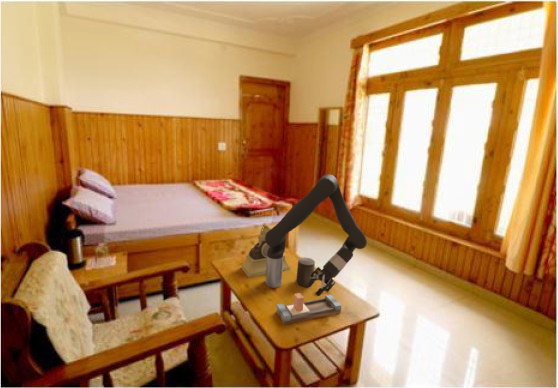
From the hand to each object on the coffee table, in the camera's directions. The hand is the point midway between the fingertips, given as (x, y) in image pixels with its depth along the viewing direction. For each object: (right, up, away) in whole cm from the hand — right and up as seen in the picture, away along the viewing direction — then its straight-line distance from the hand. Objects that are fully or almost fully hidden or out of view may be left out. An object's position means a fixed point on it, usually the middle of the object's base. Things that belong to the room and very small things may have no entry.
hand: (312, 290), depth 141 cm
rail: (-1, -11, +2) cm, 12 cm away
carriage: (-7, -10, 0) cm, 12 cm away
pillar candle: (-1, -5, +30) cm, 30 cm away
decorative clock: (-24, -1, +44) cm, 50 cm away
